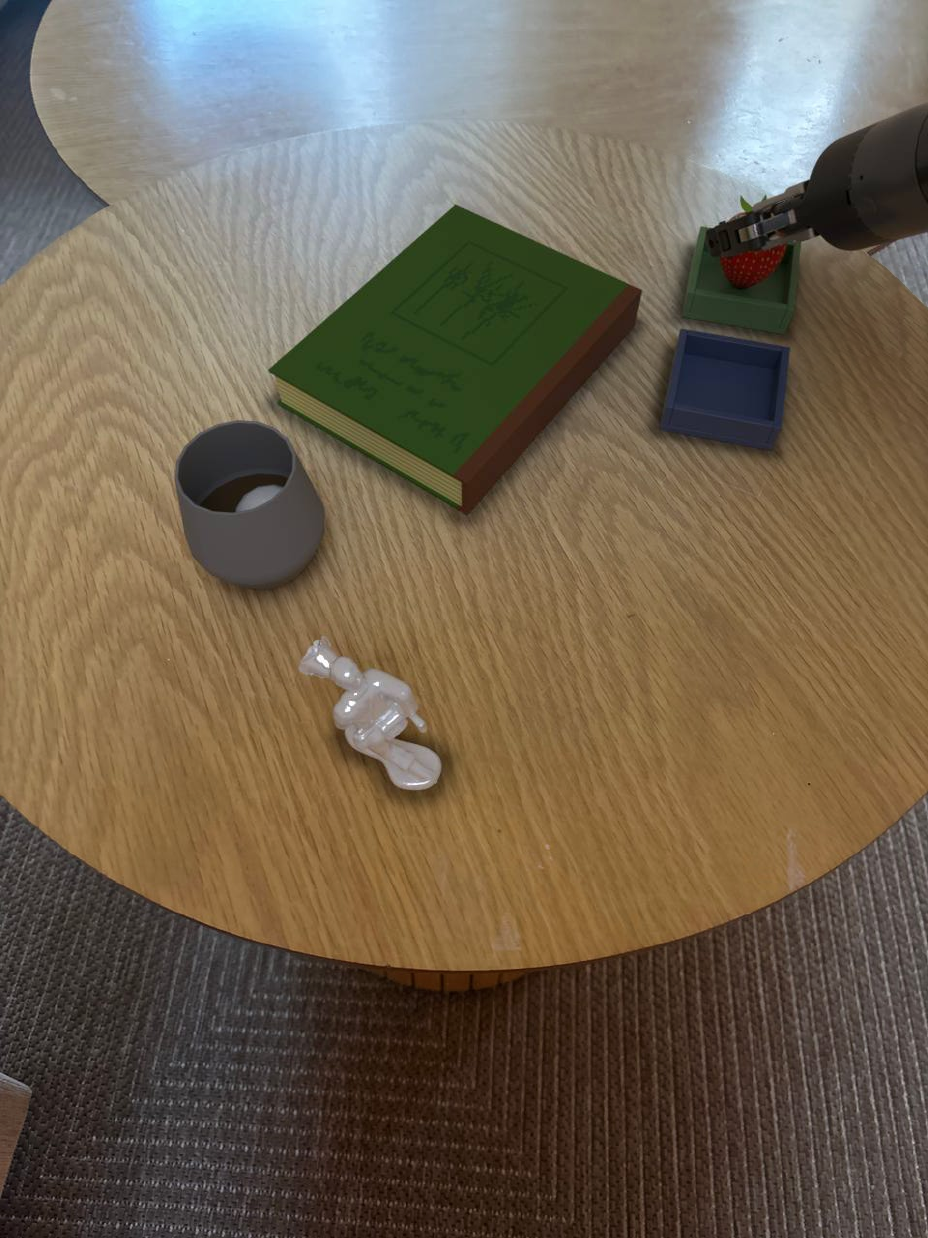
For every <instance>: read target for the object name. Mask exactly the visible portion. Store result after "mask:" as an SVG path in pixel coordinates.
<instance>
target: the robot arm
mask: <svg viewBox="0 0 928 1238" xmlns="http://www.w3.org/2000/svg"><path fill="white" fill-rule="evenodd" d="M771 213H772V214H774V217H772V216H771ZM734 216H735V215H734ZM731 218H733V220H730V219H729V220H730V221H729V220H727V221H726V220H722V221H720V222H718V225H715V226H713V227H710V228H711V229H709V230H707V231H706V236H705V238H706V242H707V246H708V250H709V254H711V256H712V257H717V256H720V255H722V258H726V257H727V259H728V258H731V257H734V255H738V254H742V253H745V252H749V251H753V250H755V252H756V251H759V250H761V249H763V250H767V249H770V248H773V247H776V246H779V245H782V244H785V243H788V242H791V241H794V242H795V241H797V242H801V243H803V242H805V241H808V240H812V239H815V238H818V237H821V238H822V239H823V240H824V241H825V242H826V243H827V244H829V245H830V246H832V247H833V248H836V249H838V250H841V251H845V252H846V251H847V252H856V251H857V252H858V251H861V250H864V249H865V250H866V249H869V248H873V247H877V246H880V245H885V244H888V243H893V242H896V241H900V240H904V239H908V238H911V237H915V236H919V235H922V234H926V233H928V102H925V103H921V104H918V105H915V106H912V107H910V108H907V109H904V110H902V111H901V112H897V113H895V114H894V115H891V116H889V117H886V118H884V119H881V120H879V121H877V122H874V123H872V124H870V125H868V126H865V127H863V128H860V129H858V130H856V131H853V132H851V133H848V134H847V135H844V136H842V137H839V138H837V139H835V140H834V141H833V142H831V143H830V144H828V146H826V147H825V149H824V150H823V151H822V152H821V153H820V155H819V157H817V160H816V161H815V163H814V165H813V168H812V171H811V173H810V177H809V179H807V180H804V181H801V182H799V183H795V184H793V185H790V186H788V187H786V189H785V190H784V192H782V193H779V194H777V195H773V196H772V197H769V198H767V199H766V200H764V201H762V200H761V201H759V202H756V203H754V204H753V205H752V211H750V212H747V213H746V215H743V216H740V217H739V215H738V216H735V217H733V216H732V217H731ZM775 230H778V232H779V233H781V234H785V236H781V237H780V236H778V235H777V234H776V233H775Z"/></svg>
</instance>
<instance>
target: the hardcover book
mask: <svg viewBox="0 0 928 1238" xmlns="http://www.w3.org/2000/svg"><path fill="white" fill-rule="evenodd" d="M642 294H643V289H641V288H639V287H637V286H635V285H632V284H630V283H628V282H626V281H623V280H621V279H620V278H617V277H615V276H613V275H610V274H609V273H606V272H604V271H602V270H599V269H598V268H595V267H594V266H591V265H589V264H587V263H585V262H582V261H581V260H578V259H576V258H574V257H571V256H569V255H567V254H565V253H563V252H560V251H558V250H556V249H553V248H551V247H549V246H547V245H546V244H543V243H540V242H539V241H536V240H535V239H532V238H530V237H528V236H525V235H524V234H521V233H519V232H517V231H515V230H512V229H511V228H508V227H506V226H504V225H502V224H499V223H497V222H495V221H493V220H490V219H489V218H487V217H484V216H482V215H480V214H478V213H476V212H474V211H471V210H469V209H466V208H465V207H462V206H460V205H458V204H454V205H453V206H452V207H451V208H450V209H448V210H447V211H446V212H445V213H444V214H442V216H440V218H438V219H436V220H435V222H433V223H432V224H431V225H430V226H429V227H428V228H427V229H426V230H424V231H423V232H422V233H421V234H420V235H419V236H418V237H417V238H416V239H414V240H413V241H412V242H410V244H409V245H408V246H406V247H405V248H404V249H403V250H402V251H401V252H400V253H398V254H397V255H396V257H394V258H393V259H391V260H390V261H389V262H388V263H387V264H386V265H385V266H384V267H382V268H381V269H380V270H379V271H378V272H377V273H376V274H375V275H374V276H372V277H371V278H369V280H368V281H367V282H366V283H364V284H363V285H362V286H361V287H360V288H359V289H358V290H357V291H355V292H354V293H353V294H352V295H351V296H350V297H349V298H348V299H346V300H345V301H344V302H343V303H342V304H341V305H340V306H339V307H338V308H336V309H335V310H334V311H333V312H332V313H330V315H329V316H328V317H326V318H325V319H324V320H323V321H321V322H320V323H319V324H318V325H317V326H316V327H315V328H313V329H312V330H311V331H310V332H309V333H308V334H307V335H306V336H305V337H304V338H302V339H301V340H300V341H299V342H297V344H296V345H294V346H293V347H292V348H291V349H290V350H289V351H288V352H287V353H285V354H284V355H283V356H282V357H281V358H280V359H278V360H277V361H276V362H275V363H274V364H273V365H271V367H269V368H268V373H269V374H272V376H274V379H275V382H276V387H277V390H278V394H279V398H280V399H279V400H278V401H277V402H276V404H277V405H278V406H280V407H281V408H283V409H284V410H287V411H288V412H290V413H292V414H293V415H295V416H297V417H298V418H300V419H302V420H304V421H305V422H306V423H309V424H311V425H312V426H314V427H315V428H317V429H320V430H321V431H323V432H324V433H326V434H328V435H329V436H331V437H333V438H334V439H337V440H338V441H340V442H341V443H343V444H345V445H347V446H348V447H350V448H352V449H354V450H355V451H357V452H359V453H360V454H362V455H364V456H365V457H367V458H369V459H370V460H372V461H374V462H376V463H378V464H379V465H381V466H383V467H384V468H385V469H387V470H389V471H391V472H393V473H395V474H396V475H398V476H400V477H401V478H403V479H405V480H406V481H409V483H411V484H414V485H415V486H417V487H419V488H420V489H422V490H424V491H426V492H427V493H428V494H431V495H432V496H434V497H435V498H437V499H439V500H441V501H443V502H444V503H445V504H448V505H449V506H451V507H453V508H454V509H456V510H458V511H459V512H462V513H463V514H465V515H467V516H468V515H470V513H472V511H473V509H474V508H475V507H476V506H477V505H478V504H479V503H480V502H481V501H482V500H483V498H484V497H485V496H486V495H487V494H488V493H489V491H491V489H493V487H494V486H495V485H496V484H497V482H499V480H500V479H501V478H502V477H503V475H504V474H506V472H507V471H508V470H509V469H510V468H511V467H512V466H513V465H514V463H515V462H516V461H517V460H518V459H519V458H520V457H521V455H522V454H523V453H524V452H525V451H526V450H527V449H528V447H530V445H531V444H532V443H533V442H534V441H535V439H536V438H537V437H539V435H540V434H541V433H542V432H543V431H544V430H545V428H546V427H547V426H548V425H549V424H550V423H551V422H552V420H553V419H554V418H555V417H556V416H558V414H559V413H560V411H561V410H562V409H563V408H564V407H565V406H566V404H567V403H569V401H570V400H571V399H572V398H573V397H574V395H576V393H577V392H578V391H579V390H580V389H581V388H582V386H583V385H585V383H586V382H587V381H588V380H589V379H590V377H591V376H593V374H594V373H595V372H596V371H597V369H598V368H599V367H600V366H601V365H602V364H603V363H604V362H605V360H607V358H609V356H610V355H611V354H612V352H614V350H615V349H616V348H617V347H618V346H619V345H620V344H621V343H622V341H623V340H624V339H625V338H626V337H627V336H628V335H629V333H630V332H631V331H632V330H633V329H634V328H635V326H636V322H637V317H638V313H639V308H640V303H641V298H642Z"/></svg>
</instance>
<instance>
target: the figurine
mask: <svg viewBox="0 0 928 1238" xmlns="http://www.w3.org/2000/svg"><path fill="white" fill-rule="evenodd" d="M320 636H321V637H320V639H316V640H314V642H313V645H311V646H309V647H308V648H307V651H306V654H305V655H304V656H303V657H302V659H301V661H300V665H299V666H298V667H297V668H298V671H299V672H300V673H301V674H303V675H304V676H310V677H312V676H315V677H319V678H322V679H329V680H331V681H332V682H333V683H334V684H336V686H337V687H340V688H341V689H343V690H345V691H344V692H343V693H342V694H341V696H340V698H339V700H338V701H337V702H336V704H335V705H334V707H333V709H332V719H333V723H334V726H335V727H336V728H337V729H339V730H340V731H344V736H345V740H346V742H347V743H348V744H349V745H350V746H351V748H353V749H354V750H355V751H357V752H359V753H361V754H364V755H366V756H367V757H371V758H373V759H375V760H378V761H380V762H381V763H382V764H383V766H384V767H385V770H386V773H387V775H388V777H389V779H390V781H391V783H393V785H395V787H397V788H399V789H401V790H402V789H403V790H408V791H422V790H428V789H430V788H431V787H432V786H434V785H435V784H438V780H439V778H440V775H441V773H442V765H443V764H442V760H441V758H440V756H439V755H438V754H437V753H436V752H435V751H433V750H432V749H430V748H429V747H427V746H424V745H422V744H417V743H413V742H409V741H405V740H401V739H398V738H396V737H397V736H399V735H400V734H401V733H402V732H403V731H404V730H405V729H406V727H407V726H408V724H409V721H408V719H407V718H409V720H410V721H411V722H412V723H413V724H414V726H415V728H417V729H418V731H419V732H420V733H422V734H425V733H426V732H428V726H427V724H426V722H425V720H423V718H421V717H420V716H419V715H418V714H417V713H416V712H418V710H419V702H418V700H417V698H416V697H415V695H414V692H413V690H412V688H411V686H410V685H408V683H406V682H405V681H403V680H401V679H399V678H398V677H395V676H393V675H392V674H390V673H388V672H387V671H384V670H382V669H379V668H374V667H372V668H367V669H365V670H363V671H361V669H360V667H359V666H358V664H357V663H356V662H355V661H354V660H353V659H352V658H350V657H348V656H347V655H346V656H345V655H343V656H339V654H337V652H335V651H334V650H333V649H332V643H331V642H330V641H329V639H328V637H326V635H320Z"/></svg>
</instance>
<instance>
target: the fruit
mask: <svg viewBox="0 0 928 1238" xmlns="http://www.w3.org/2000/svg"><path fill="white" fill-rule="evenodd" d="M739 198H740V199H739V203H740V207H741V208H742V210H743V212H739V213H737V214H735V215H733V216H732V217H735V216H738V215H739V217H740V216H743V215H746V213H747V212H750V211H752V207H753V205H751V204H750V203H749V202H747V200H746V199H745V198H744V196H743V195H742V194H740V195H739ZM766 199H768V198H767V194H765V195H764V196H763V198H762V199H761V201H764V200H766ZM771 216H772V217H774V214H772V213H771ZM732 217H731V218H730V219H728V221H730V220H733V218H732ZM775 233H776V234H777V235H778V236H780V237H781V236H785V234H781V233H779V232H778V230H775ZM786 246H787V243H785V244H782V245H779V246H776V247H773V248H770V249H767V250H763V249H761V250H759V251H756V252H755V250H753V251H749V252H745V253H742V254H738V255H734V257H731V258H728V259H727V257H726V258H722V255H720V256H719V257H720V262H721V266H722V269H723V272H724V274H725V276H726V278H727V279H728V281H729V282H730V283H731V284H732V285H734V286H736V287H739V288H748V287H751V286H754V285H756V284H758V283H760V282H761V281H763V280H764V279H766V278H767V277H768V276H769V275H770V274H772V273H773V272H774V270H775V269H776V268H777V266H778V265H779V263H780V262H781V260H782V257H783V255H784V253H785V250H786Z"/></svg>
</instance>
